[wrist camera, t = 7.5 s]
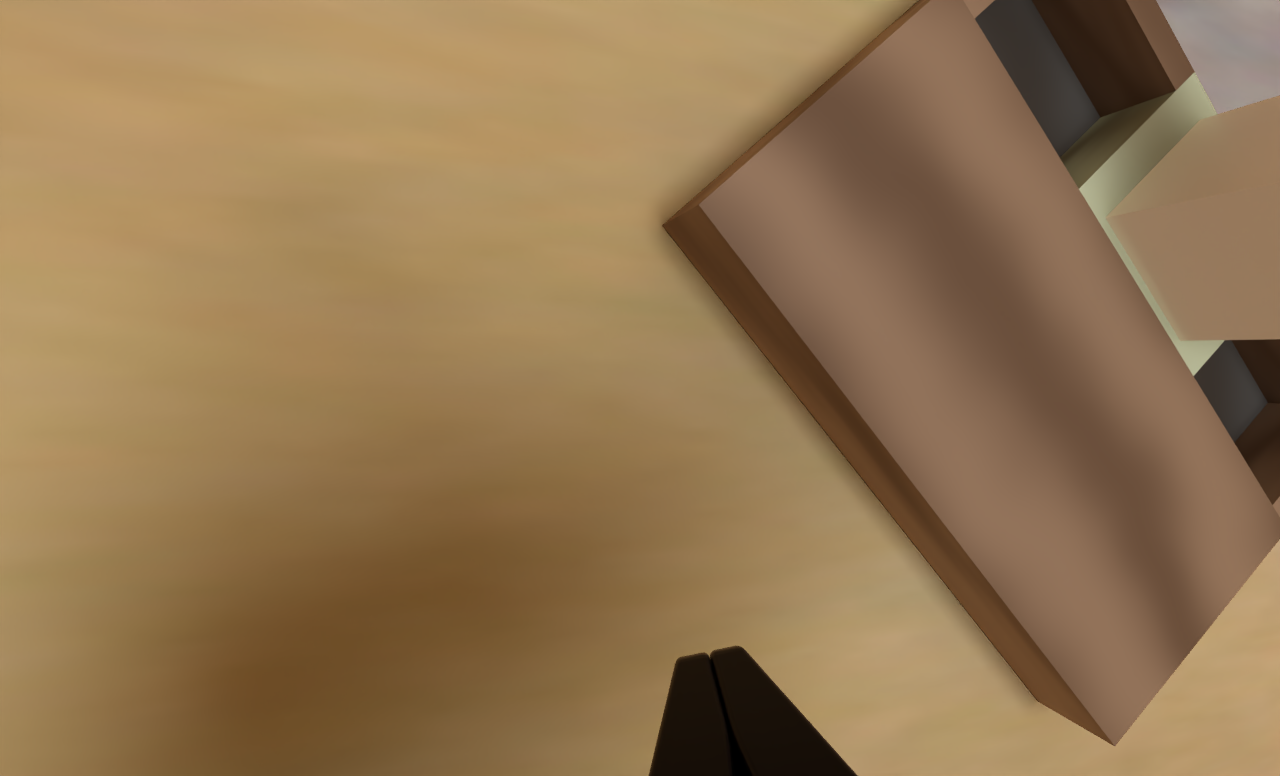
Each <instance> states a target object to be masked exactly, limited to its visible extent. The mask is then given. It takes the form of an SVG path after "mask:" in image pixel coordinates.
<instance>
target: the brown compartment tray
mask: <svg viewBox="0 0 1280 776" xmlns="http://www.w3.org/2000/svg"><path fill="white" fill-rule="evenodd" d="M1214 115H1217V112H1216V111H1215V109H1214V107H1213V105H1212V103H1211V101H1210V100H1209V98H1208V96H1207V94H1206V92H1205V90H1204V88H1203V87H1202V85H1201V83H1200V81H1199V79H1198V77H1197V76H1196V74H1195V72H1194V70H1193V68H1192V66H1191V64H1190V63H1189V61H1188V59H1187V57H1186V55H1185V53H1184V51H1183V50H1182V48H1181V46H1180V44H1179V42H1178V40H1177V39H1176V37H1175V35H1174V33H1173V31H1172V29H1171V27H1170V26H1169V24H1168V22H1167V20H1166V18H1165V16H1164V15H1163V13H1162V11H1161V9H1160V7H1159V5H1158V3H1157V2H1156V0H919V1H918V2H917V3H915V4H914V5H913V6H912V7H911V8H910V9H909V10H907V11H906V12H905V13H904V14H903V15H902V16H901V17H899V18H898V19H897V20H896V21H895V22H894V23H893V24H891V25H890V26H889V27H888V28H887V29H886V30H885V31H883V32H882V33H881V34H880V35H879V36H878V37H877V38H875V39H874V40H873V41H872V42H871V43H870V44H869V45H867V46H866V47H865V48H864V49H863V50H862V51H861V52H859V53H858V54H857V55H856V56H855V57H854V58H853V59H852V60H850V61H849V62H848V63H847V64H846V65H845V66H844V67H842V68H841V69H840V70H839V71H838V72H837V73H836V74H834V75H833V76H832V77H831V78H830V79H829V80H828V81H826V82H825V83H824V84H823V85H822V86H821V87H820V88H818V89H817V90H816V91H815V92H814V93H813V94H812V95H810V96H809V97H808V98H807V99H806V100H805V101H804V102H802V103H801V104H800V105H799V106H798V107H797V108H796V109H794V110H793V111H792V112H791V113H790V114H789V115H788V116H787V117H785V118H784V119H783V120H782V121H781V122H780V123H779V124H777V125H776V126H775V127H774V128H773V129H772V130H771V131H769V132H768V133H767V134H766V135H765V136H764V137H763V138H761V139H760V140H759V141H758V142H757V143H756V144H755V145H753V146H752V147H751V148H750V149H749V150H748V151H747V152H745V153H744V154H743V155H742V156H741V157H740V158H739V159H737V160H736V161H735V162H734V163H733V164H732V165H731V166H730V167H728V168H727V169H726V170H725V171H724V172H723V173H722V174H720V175H719V176H718V177H717V178H716V179H715V180H714V181H712V182H711V183H710V184H709V185H708V186H707V187H706V188H704V189H703V190H702V191H701V192H700V193H699V194H698V195H696V196H695V197H694V198H693V199H692V200H691V201H690V202H688V203H687V204H686V205H685V206H684V207H683V208H682V209H680V210H679V211H678V212H677V213H676V214H675V215H674V216H672V217H671V218H670V219H669V220H668V221H667V222H666V223H665V224H663V225H662V226H663V227H664V228H665V229H666V231H667V232H668V233H669V234H670V236H671V237H672V238H673V240H674V241H675V242H676V243H677V245H678V246H679V247H680V248H681V250H682V251H683V252H684V253H685V255H686V256H687V257H688V258H689V260H690V261H691V262H692V264H693V265H694V266H695V267H696V269H697V270H698V271H699V272H700V274H701V275H702V276H703V277H704V279H705V280H706V281H707V283H708V284H709V285H710V286H711V288H712V289H713V290H714V291H715V293H716V294H717V295H718V296H719V298H720V299H721V300H722V302H723V303H724V304H725V305H726V307H727V308H728V309H729V310H730V312H731V313H732V314H733V315H734V317H735V318H736V319H737V321H738V322H739V323H740V324H741V326H742V327H743V328H744V329H745V331H746V332H747V333H748V334H749V336H750V337H751V338H752V340H753V341H754V342H755V343H756V345H757V346H758V347H759V348H760V350H761V351H762V352H763V353H764V355H765V356H766V357H767V359H768V360H769V361H770V362H771V364H772V365H773V366H774V367H775V369H776V370H777V371H778V372H779V374H780V375H781V376H782V378H783V379H784V380H785V381H786V383H787V384H788V385H789V386H790V388H791V389H792V390H793V391H794V393H795V394H796V395H797V397H798V398H799V399H800V400H801V402H802V403H803V404H804V405H805V407H806V408H807V409H808V410H809V412H810V413H811V414H812V416H813V417H814V418H815V419H816V421H817V422H818V423H819V424H820V426H821V427H822V428H823V429H824V431H825V432H826V433H827V435H828V436H829V437H830V438H831V440H832V441H833V442H834V443H835V445H836V446H837V447H838V448H839V450H840V451H841V452H842V454H843V455H844V456H845V457H846V459H847V460H848V461H849V462H850V464H851V465H852V466H853V467H854V469H855V470H856V471H857V473H858V474H859V475H860V476H861V478H862V479H863V480H864V481H865V483H866V484H867V485H868V486H869V488H870V489H871V490H872V492H873V493H874V494H875V495H876V497H877V498H878V499H879V500H880V502H881V503H882V504H883V505H884V507H885V508H886V509H887V511H888V512H889V513H890V514H891V516H892V517H893V518H894V519H895V521H896V522H897V523H898V524H899V526H900V527H901V528H902V530H903V531H904V532H905V533H906V535H907V536H908V537H909V538H910V540H911V541H912V542H913V543H914V545H915V546H916V547H917V549H918V550H919V551H920V552H921V554H922V555H923V556H924V557H925V559H926V560H927V561H928V562H929V564H930V565H931V566H932V568H933V569H934V570H935V571H936V573H937V574H938V575H939V576H940V578H941V579H942V580H943V581H944V583H945V584H946V585H947V587H948V588H949V589H950V590H951V592H952V593H953V594H954V595H955V597H956V598H957V599H958V600H959V602H960V603H961V604H962V606H963V607H964V608H965V609H966V611H967V612H968V613H969V614H970V616H971V617H972V618H973V619H974V621H975V622H976V623H977V625H978V626H979V627H980V628H981V630H982V631H983V632H984V633H985V635H986V636H987V637H988V638H989V640H990V641H991V642H992V644H993V645H994V646H995V647H996V649H997V650H998V651H999V652H1000V654H1001V655H1002V656H1003V657H1004V659H1005V660H1006V661H1007V663H1008V664H1009V665H1010V666H1011V668H1012V669H1013V670H1014V671H1015V673H1016V674H1017V675H1018V676H1019V678H1020V679H1021V680H1022V682H1023V683H1024V684H1025V685H1026V687H1027V688H1028V689H1029V690H1030V692H1031V693H1032V694H1033V695H1034V697H1035V698H1036V699H1037V701H1038V702H1040V703H1042V704H1043V705H1045V706H1047V707H1048V708H1050V709H1052V710H1054V711H1055V712H1057V713H1059V714H1060V715H1062V716H1064V717H1066V718H1067V719H1069V720H1071V721H1072V722H1074V723H1076V724H1078V725H1079V726H1081V727H1083V728H1084V729H1086V730H1088V731H1090V732H1091V733H1093V734H1095V735H1096V736H1098V737H1100V738H1101V739H1103V740H1105V741H1107V742H1108V743H1110V744H1112V745H1113V746H1116V744H1117V743H1118V742H1119V741H1120V739H1121V738H1122V737H1123V735H1124V734H1125V733H1126V732H1127V730H1128V729H1129V728H1130V727H1131V725H1132V724H1133V723H1134V722H1135V720H1136V719H1137V718H1138V717H1139V715H1140V714H1141V713H1142V712H1143V710H1144V709H1145V708H1146V707H1147V705H1148V704H1149V703H1150V702H1151V700H1152V699H1153V698H1154V697H1155V695H1156V694H1157V693H1158V691H1159V690H1160V689H1161V688H1162V686H1163V685H1164V684H1165V683H1166V681H1167V680H1168V679H1169V678H1170V676H1171V675H1172V674H1173V673H1174V671H1175V670H1176V669H1177V668H1178V666H1179V665H1180V664H1181V663H1182V661H1183V660H1184V659H1185V658H1186V656H1187V655H1188V654H1189V652H1190V651H1191V650H1192V649H1193V647H1194V646H1195V645H1196V644H1197V642H1198V641H1199V640H1200V639H1201V637H1202V636H1203V635H1204V634H1205V632H1206V631H1207V630H1208V629H1209V627H1210V626H1211V625H1212V624H1213V622H1214V621H1215V620H1216V619H1217V617H1218V616H1219V615H1220V613H1221V612H1222V611H1223V610H1224V608H1225V607H1226V606H1227V605H1228V603H1229V602H1230V601H1231V600H1232V598H1233V597H1234V596H1235V595H1236V593H1237V592H1238V591H1239V590H1240V588H1241V587H1242V586H1243V585H1244V583H1245V582H1246V581H1247V580H1248V578H1249V577H1250V576H1251V574H1252V573H1253V572H1254V571H1255V569H1256V568H1257V567H1258V566H1259V564H1260V563H1261V562H1262V561H1263V559H1264V558H1265V557H1266V556H1267V554H1268V553H1269V552H1270V551H1271V549H1272V548H1273V547H1274V546H1275V544H1276V543H1277V542H1278V541H1279V539H1280V339H1265V340H1197V341H1180V340H1179V338H1178V336H1177V335H1176V333H1175V331H1174V330H1173V328H1172V327H1171V325H1170V323H1169V322H1168V320H1167V318H1166V317H1165V315H1164V313H1163V312H1162V310H1161V308H1160V307H1159V305H1158V304H1157V302H1156V300H1155V299H1154V297H1153V295H1152V294H1151V292H1150V290H1149V289H1148V287H1147V285H1146V284H1145V282H1144V281H1143V279H1142V277H1141V276H1140V274H1139V272H1138V271H1137V269H1136V267H1135V266H1134V264H1133V262H1132V261H1131V259H1130V257H1129V256H1128V254H1127V253H1126V251H1125V249H1124V248H1123V246H1122V244H1121V243H1120V241H1119V239H1118V238H1117V236H1116V234H1115V233H1114V231H1113V230H1112V228H1111V226H1110V225H1109V223H1108V221H1107V220H1106V218H1105V217H1106V216H1107V215H1108V214H1109V213H1110V212H1111V211H1112V210H1113V209H1114V208H1115V207H1116V206H1117V205H1118V204H1119V203H1120V202H1121V201H1122V200H1123V199H1124V198H1125V197H1126V196H1127V195H1128V194H1129V193H1130V192H1131V191H1132V190H1133V189H1134V188H1135V186H1136V185H1137V184H1138V183H1139V182H1140V181H1141V180H1142V179H1143V178H1144V177H1145V176H1146V175H1147V174H1148V173H1149V172H1150V171H1151V170H1152V169H1153V168H1154V167H1155V166H1156V165H1157V164H1158V163H1159V162H1160V161H1161V160H1162V159H1163V158H1164V156H1165V155H1166V154H1167V153H1168V152H1169V151H1170V150H1171V149H1172V148H1173V147H1174V146H1175V145H1176V144H1177V143H1178V142H1179V141H1180V140H1181V139H1182V138H1183V137H1184V136H1185V135H1186V134H1187V133H1188V132H1189V131H1190V130H1191V129H1192V128H1193V126H1194V125H1195V124H1196V123H1197V122H1198V121H1199V120H1201V119H1204V118H1207V117H1211V116H1214Z"/></svg>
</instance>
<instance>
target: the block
mask: <svg viewBox="0 0 1280 776" xmlns="http://www.w3.org/2000/svg"><path fill="white" fill-rule="evenodd" d="M1105 218H1106V220H1107V221H1108V223H1109V225H1110V226H1111V228H1112V230H1113V231H1114V233H1115V234H1116V236H1117V238H1118V239H1119V241H1120V243H1121V244H1122V246H1123V248H1124V249H1125V251H1126V253H1127V254H1128V256H1129V257H1130V259H1131V261H1132V262H1133V264H1134V266H1135V267H1136V269H1137V271H1138V272H1139V274H1140V276H1141V277H1142V279H1143V281H1144V282H1145V284H1146V285H1147V287H1148V289H1149V290H1150V292H1151V294H1152V295H1153V297H1154V299H1155V300H1156V302H1157V304H1158V305H1159V307H1160V308H1161V310H1162V312H1163V313H1164V315H1165V317H1166V318H1167V320H1168V322H1169V323H1170V325H1171V327H1172V328H1173V330H1174V331H1175V333H1176V335H1177V336H1178V338H1179V340H1180V341H1197V340H1265V339H1280V96H1276V97H1273V98H1270V99H1266V100H1263V101H1260V102H1257V103H1253V104H1250V105H1247V106H1244V107H1240V108H1237V109H1234V110H1230V111H1227V112H1224V113H1221V114H1217V115H1214V116H1211V117H1207V118H1204V119H1201V120H1199V121H1198V122H1197V123H1196V124H1195V125H1194V126H1193V128H1192V129H1191V130H1190V131H1189V132H1188V133H1187V134H1186V135H1185V136H1184V137H1183V138H1182V139H1181V140H1180V141H1179V142H1178V143H1177V144H1176V145H1175V146H1174V147H1173V148H1172V149H1171V150H1170V151H1169V152H1168V153H1167V154H1166V155H1165V156H1164V158H1163V159H1162V160H1161V161H1160V162H1159V163H1158V164H1157V165H1156V166H1155V167H1154V168H1153V169H1152V170H1151V171H1150V172H1149V173H1148V174H1147V175H1146V176H1145V177H1144V178H1143V179H1142V180H1141V181H1140V182H1139V183H1138V184H1137V185H1136V186H1135V188H1134V189H1133V190H1132V191H1131V192H1130V193H1129V194H1128V195H1127V196H1126V197H1125V198H1124V199H1123V200H1122V201H1121V202H1120V203H1119V204H1118V205H1117V206H1116V207H1115V208H1114V209H1113V210H1112V211H1111V212H1110V213H1109V214H1108V215H1107V216H1106V217H1105Z"/></svg>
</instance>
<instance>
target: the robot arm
mask: <svg viewBox="0 0 1280 776" xmlns="http://www.w3.org/2000/svg"><path fill="white" fill-rule="evenodd" d="M649 776H857V775H856V773H855V772H854V771H853V770H852V769H851V768H850V767H849V766H848V765H847V763H846V762H845V761H844V760H843V759H842V758H841V757H840V756H839V754H838V753H837V752H836V751H835V750H834V749H833V748H832V747H831V745H830V744H829V743H828V742H827V741H826V740H825V739H824V738H823V737H822V735H821V734H820V733H819V732H818V731H817V730H816V729H815V728H814V726H813V725H812V724H811V723H810V722H809V721H808V720H807V719H806V718H805V716H804V715H803V714H802V713H801V712H800V711H799V710H798V709H797V707H796V706H795V705H794V704H793V703H792V702H791V701H790V700H789V699H788V697H787V696H786V695H785V694H784V693H783V692H782V691H781V690H780V688H779V687H778V686H777V685H776V684H775V683H774V682H773V681H772V680H771V678H770V677H769V676H768V675H767V674H766V673H765V672H764V671H763V669H762V668H761V667H760V666H759V665H758V664H757V663H756V662H755V661H754V659H753V658H752V657H751V656H750V655H749V654H748V653H747V652H746V651H745V650H744V649H743V648H742V647H740V646H732V647H727V648H722V649H717V650H714V651H712V652H711V654H710V658H709V655H708V654H706V653H698V654H693V655H688V656H683V657H680V658H678V659H677V661H676V663H675V667H674V671H673V675H672V679H671V684H670V688H669V692H668V696H667V701H666V705H665V709H664V713H663V718H662V722H661V726H660V730H659V734H658V739H657V743H656V747H655V751H654V756H653V760H652V764H651V768H650V773H649Z"/></svg>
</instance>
